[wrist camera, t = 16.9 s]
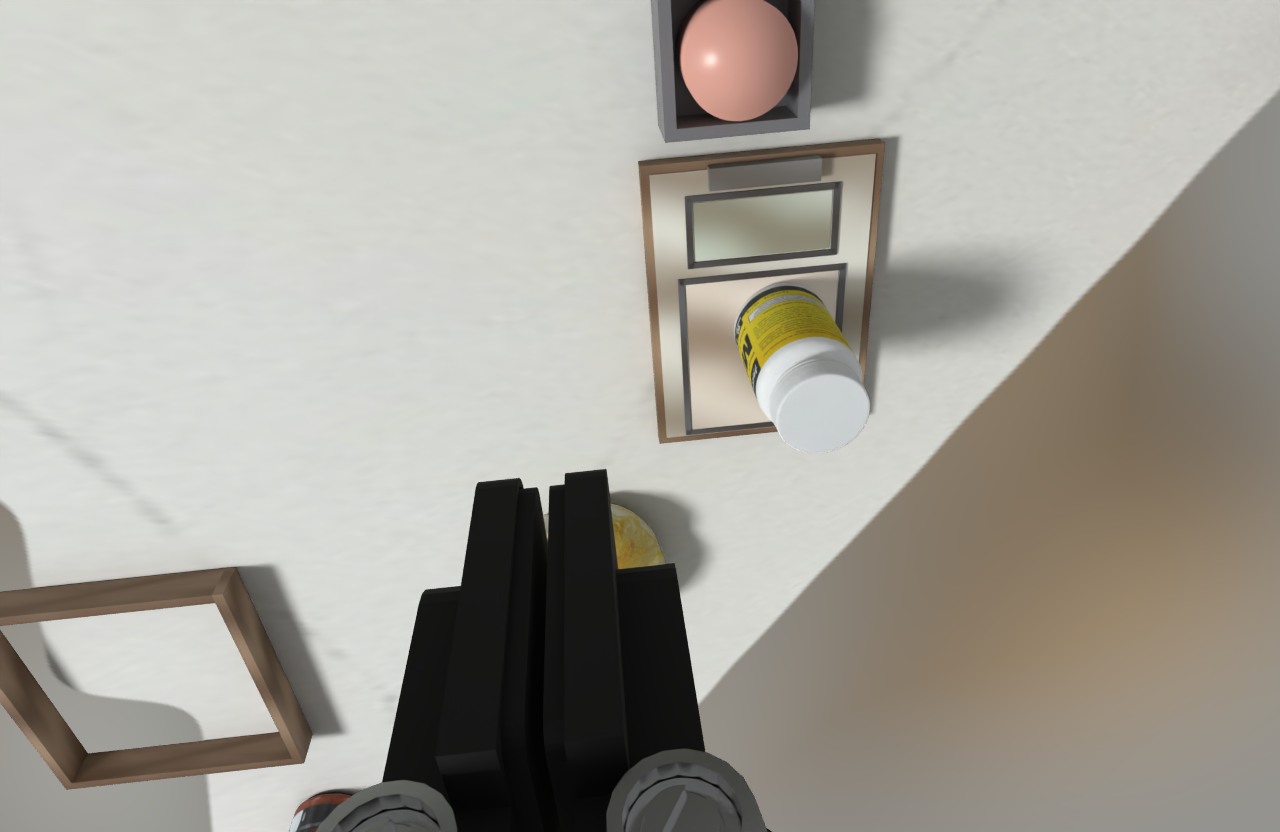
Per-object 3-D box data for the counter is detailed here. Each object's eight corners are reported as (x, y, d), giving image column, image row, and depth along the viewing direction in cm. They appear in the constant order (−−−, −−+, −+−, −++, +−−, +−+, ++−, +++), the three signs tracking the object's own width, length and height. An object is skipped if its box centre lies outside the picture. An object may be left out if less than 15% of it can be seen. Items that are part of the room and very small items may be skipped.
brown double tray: (638, 161, 37) (640, 171, 36) (879, 138, 37) (889, 147, 36) (658, 435, 45) (661, 451, 44) (855, 415, 46) (864, 430, 44)
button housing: (649, -29, 33) (656, -22, 31) (796, -42, 33) (816, -36, 31) (658, 125, 36) (665, 142, 34) (792, 112, 36) (809, 129, 34)
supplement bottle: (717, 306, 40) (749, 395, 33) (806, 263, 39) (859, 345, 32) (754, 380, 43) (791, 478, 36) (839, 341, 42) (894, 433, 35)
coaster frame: (-36, 595, 48) (-60, 624, 46) (235, 566, 48) (222, 594, 46) (82, 759, 56) (66, 789, 54) (312, 734, 56) (304, 763, 55)
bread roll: (551, 624, 52) (547, 674, 48) (506, 514, 47) (497, 561, 44) (679, 599, 51) (684, 647, 48) (645, 485, 47) (648, 529, 43)
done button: (672, -6, 33) (681, 3, 30) (782, -16, 33) (799, -8, 30) (677, 109, 35) (686, 126, 33) (779, 99, 35) (796, 116, 33)
